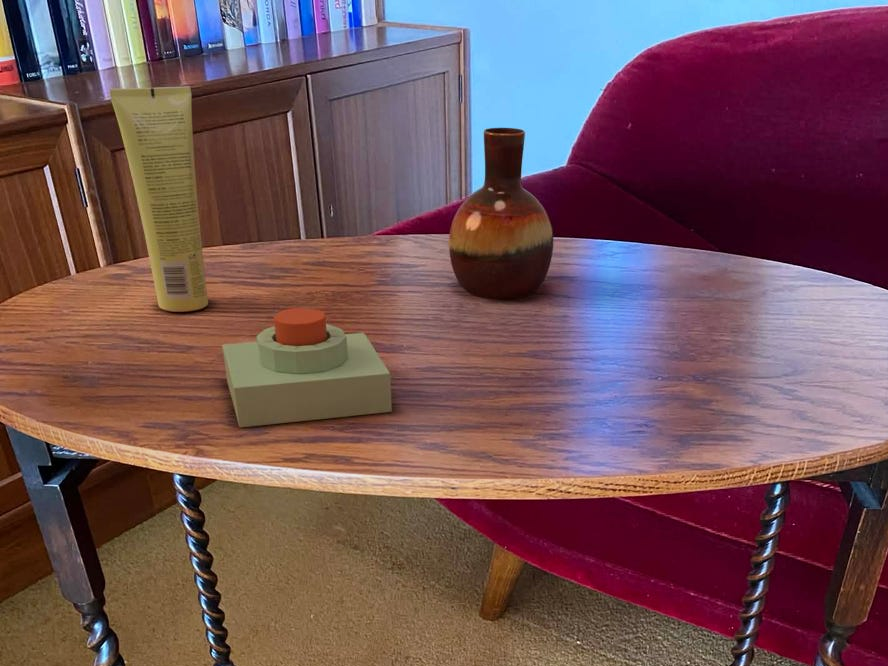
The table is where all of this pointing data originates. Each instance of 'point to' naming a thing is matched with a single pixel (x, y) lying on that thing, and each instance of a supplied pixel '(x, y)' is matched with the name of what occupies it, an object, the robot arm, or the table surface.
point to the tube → (165, 189)
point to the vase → (501, 227)
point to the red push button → (300, 327)
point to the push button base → (306, 379)
